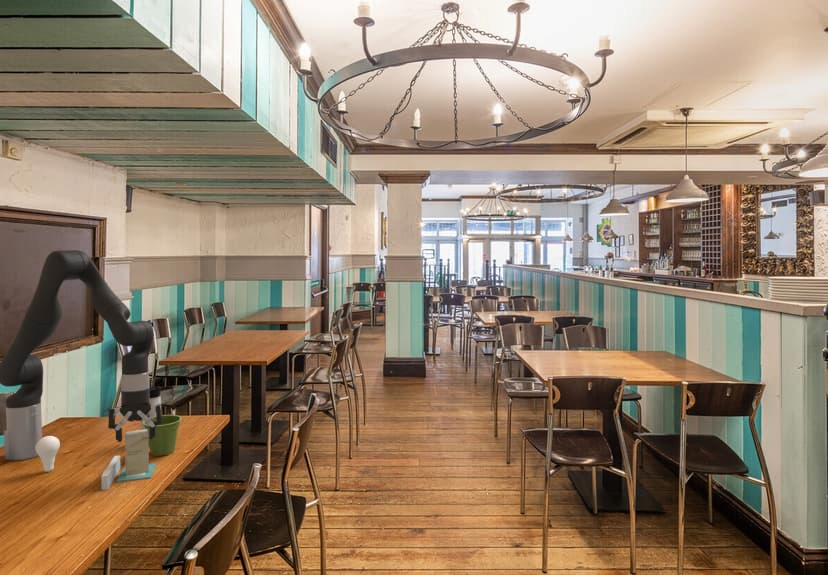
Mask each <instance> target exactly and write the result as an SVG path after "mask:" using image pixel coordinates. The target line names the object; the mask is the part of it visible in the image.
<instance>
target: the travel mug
mask: <svg viewBox="0 0 828 575" xmlns="http://www.w3.org/2000/svg"><path fill="white" fill-rule="evenodd" d="M161 390H162V386H152V387H149V394H150V405H151V406H152V405H157V404H161V405H162V398H161V397H162V396H161ZM149 414H150V415H151V417H155V416H156V412H154V411H153V410H152V409H151V410H150V411H149ZM143 421H144V420H141V430H143V429H145V426H144V425H143ZM148 443H149V442H148Z"/></svg>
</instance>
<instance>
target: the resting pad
mask: <svg viewBox="0 0 828 575" xmlns="http://www.w3.org/2000/svg"><path fill="white" fill-rule="evenodd" d="M157 464H158V463H157V462H154V463H149V471H148V472H144V473H138V474H132V475H126V468H125V466H124V467H123V469H122V470H121V473H120V474H119V476H118V477H117V479H116V483H121V482H129V481H139V480H145V479H146V480H147V479H152V476H153V474H154V472H155V469H156V467H157Z"/></svg>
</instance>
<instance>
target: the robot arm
mask: <svg viewBox="0 0 828 575" xmlns="http://www.w3.org/2000/svg"><path fill="white" fill-rule="evenodd" d="M73 280H79V281H81V282H82V283H84V284H85V285H86V286H87V288H88V289H89V293H90V302H91V304H92V307H93V309H94V310H95V311H96V313H97V314H98V315H99V316H100V317H101V318H102V319H103V320H104V322H106V323H107V326H108V328H109V330H110V332H111V334H112V337H113V339H114V340H115V342H117V344H119V345H120V346H123V347H131V350H130V351H128V352H127V353H125V354H123V356H122V357H121V378H120V379H121V380H120V390H121V391H120V394H121V395H120V396H121V397H120V400H121V401H120V402H121V404H120V405H121V406H120V407H115V406H112V407H111V408H110V409H109V410H108V429H110V430H115V440H116V441H117V442H118V443H122V441H123V426H124V424H125V423H126V422H127V421H128V422H130V423H131V422H136V421H137V422H142V420H144V421H145V422H146V423H148V424H149V425H150V426H151V427H150V439H153V437H155V435H156V426H157V425H160V424H161V423H162V415H163V411H162V408H163V407H162V403H161V404H157V405H152V406H151V405H150V394H149V388H150V385H151V383H150V375H149V356H150V353H151V349H152V345H153V340H154V334H155V333H154V329H153V325H151V323H150V322H149V321H146V320H137V321H128V320H129V319H130V317H131V311H130V309H129V308H128V306H127V305H126V304H125V303H124V302H123V301H122V300H121V299H120V298H119V296H117V295H116V294H115V292H113V290H112V289H111V288H110V286H109V285H108V283H107V282H106V280H105V278H104V277H103V275H102V273H100V271H99V269H98V267H97V266H96V265H95V263H94V261H93V260H92V258H91V257H90V256H89V255H88V254H87V253H86V252H85V251H82V250H77V249H75V250H74V249H71V250H69V249H68V250H67V249H66V250H65V249H64V250H63V249H62V250H61V249H59V250H54V251H52V252H50V253H49V254H48V255H47V257H46V258H45V260H44V263H43V266H42V269H41V273H40V275H39V280H38V284H37V286H36V289H35V292H34V294H33V297H32V299H31V302H30V304H28V305H29V306H28V308H27V310H26V312H25V314H24V316H23V319H22V321H21V324H20V327H19V328H18V331H17V332H16V335H15V337H14V339H13V340H12V343H11V344H10V346H9V348H8V350H7V351H6V353H5V354H4V356H3V358H1V361H0V385H2V386H4V387H17V386H20V388H18V390H17V391H16V392H13V393H12V394H11V395H10V396H9V395H8V396H7V397H6V398H5V415H6V418H5V419H6V430H4V431H3V438H4V440H3V441H4V461H23V460H29V459H32V458H36V457H38V456H39V455H38V454H37V452H36V450H35V447H36V444H37V442H38V441H39V440H40V439H41V438H43V424H42V422H43V421H42V395H43V391H44V390H43V389H44V387H43V386H44V366H43V362H42V359H40V357H39V356H38V355H35V354H32V353H33V352H34V351H35V350H37V349H38V348H39V347H41V346H42V345H43V344H44V343H45V342H46V341H47V340H49V339H50V338H51V337H52V335H54V333H55V332H56V330H57V328H58V326H59V323H60V322H61V320H62V317H63V309H62V307H61V303H60V301H59V297H58V296H59V290H60V289H61V287H62V284H63V283H64V282H65V281H73ZM151 409H152V410H153V411H154V412H156V417H157V420H156V421H154V419H153V418H152V417H151V415H150V414H149V411H150V410H151ZM119 413H120V415H122V416H123V417H122V418H121V420H119V422H118V423H116V416H117V415H118V414H119Z"/></svg>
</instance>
